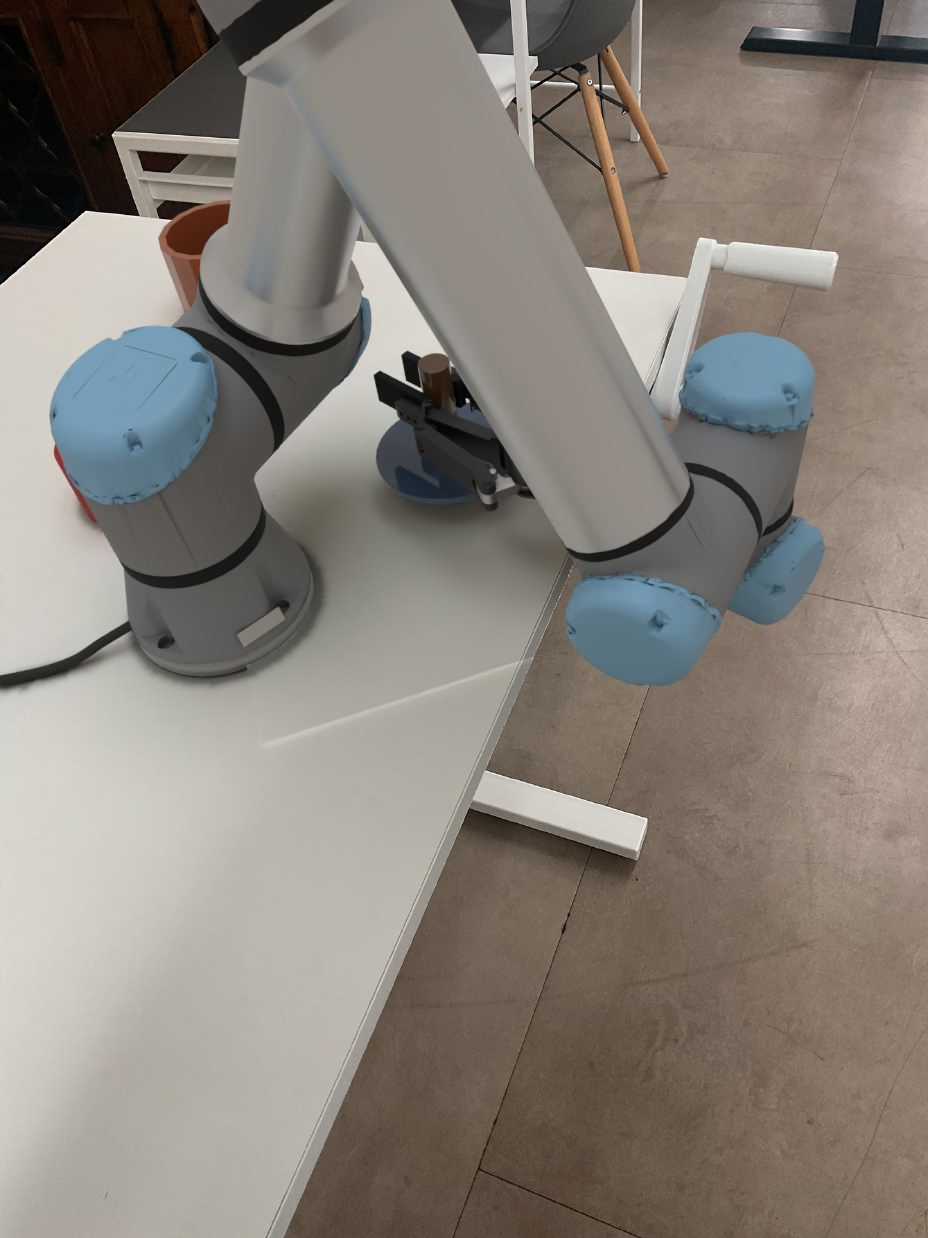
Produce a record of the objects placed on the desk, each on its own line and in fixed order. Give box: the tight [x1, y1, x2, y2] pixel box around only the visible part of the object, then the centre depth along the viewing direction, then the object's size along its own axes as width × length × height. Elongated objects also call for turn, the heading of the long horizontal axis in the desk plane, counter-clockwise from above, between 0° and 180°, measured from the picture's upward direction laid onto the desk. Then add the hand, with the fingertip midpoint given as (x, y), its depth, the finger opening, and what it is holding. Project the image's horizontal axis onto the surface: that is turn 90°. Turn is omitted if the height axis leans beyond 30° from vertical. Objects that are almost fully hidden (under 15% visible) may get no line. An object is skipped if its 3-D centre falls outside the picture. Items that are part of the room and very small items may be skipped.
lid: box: [375, 352, 509, 505], centre depth 84 cm, size 13×13×10 cm
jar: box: [157, 199, 231, 314], centre depth 110 cm, size 12×12×10 cm
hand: (393, 375), depth 86 cm, fingers closed on lid, 3 cm apart
